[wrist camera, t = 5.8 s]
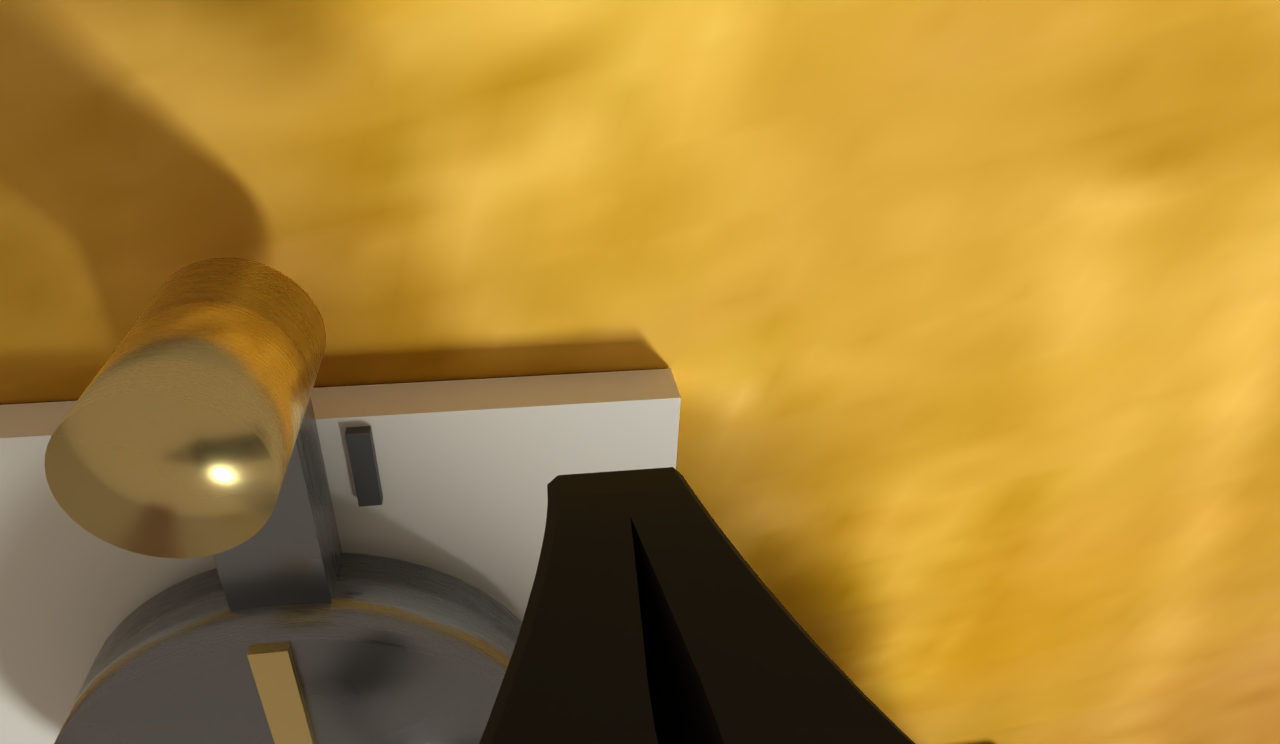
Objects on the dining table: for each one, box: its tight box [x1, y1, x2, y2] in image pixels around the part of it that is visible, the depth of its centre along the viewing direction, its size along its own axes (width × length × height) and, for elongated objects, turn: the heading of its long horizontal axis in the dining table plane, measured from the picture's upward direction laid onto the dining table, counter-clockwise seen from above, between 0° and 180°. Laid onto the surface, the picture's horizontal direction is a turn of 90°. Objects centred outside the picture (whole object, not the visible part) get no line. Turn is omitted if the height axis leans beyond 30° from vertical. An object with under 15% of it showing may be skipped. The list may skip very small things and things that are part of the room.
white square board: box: [0, 369, 681, 744], centre depth 18 cm, size 14×14×1 cm
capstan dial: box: [44, 258, 522, 744], centre depth 14 cm, size 15×9×4 cm, turn 178°
